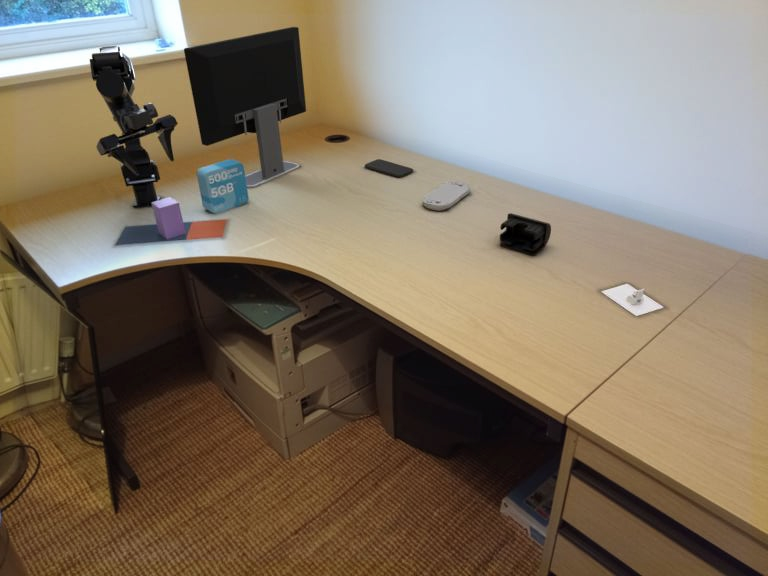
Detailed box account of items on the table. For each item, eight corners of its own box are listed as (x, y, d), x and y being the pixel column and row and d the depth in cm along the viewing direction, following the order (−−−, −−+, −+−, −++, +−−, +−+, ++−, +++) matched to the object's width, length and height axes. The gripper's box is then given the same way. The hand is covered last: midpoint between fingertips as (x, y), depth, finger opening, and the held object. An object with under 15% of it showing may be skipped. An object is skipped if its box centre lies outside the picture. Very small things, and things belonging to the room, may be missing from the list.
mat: (115, 246, 144) (114, 245, 144) (125, 227, 153) (125, 226, 153) (222, 238, 147) (222, 236, 147) (227, 220, 156) (226, 219, 155)
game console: (445, 205, 154) (418, 199, 158) (445, 214, 155) (418, 208, 159) (474, 183, 167) (448, 178, 171) (474, 191, 168) (448, 186, 172)
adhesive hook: (633, 307, 116) (637, 293, 115) (624, 300, 118) (627, 287, 117) (645, 303, 117) (649, 290, 116) (636, 297, 119) (639, 283, 118)
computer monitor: (301, 153, 200) (288, 26, 179) (320, 158, 195) (309, 27, 174) (206, 193, 172) (177, 47, 151) (226, 199, 168) (199, 50, 147)
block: (158, 233, 149) (150, 202, 145) (177, 227, 152) (170, 196, 148) (166, 239, 146) (159, 208, 142) (185, 233, 149) (178, 202, 144)
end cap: (549, 245, 139) (553, 219, 136) (535, 257, 134) (539, 230, 131) (511, 234, 145) (513, 209, 141) (497, 245, 140) (499, 219, 136)
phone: (399, 176, 178) (363, 164, 186) (399, 178, 178) (363, 167, 186) (414, 169, 182) (378, 158, 191) (414, 171, 183) (378, 161, 191)
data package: (212, 215, 158) (204, 173, 152) (203, 210, 161) (195, 169, 155) (249, 202, 166) (243, 161, 159) (240, 197, 168) (234, 157, 162)
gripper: (89, 107, 127) (126, 174, 130) (166, 83, 137) (199, 145, 140) (81, 123, 136) (116, 185, 140) (155, 99, 146) (186, 157, 149)
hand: (155, 167), depth 142 cm, fingers open, 9 cm apart
